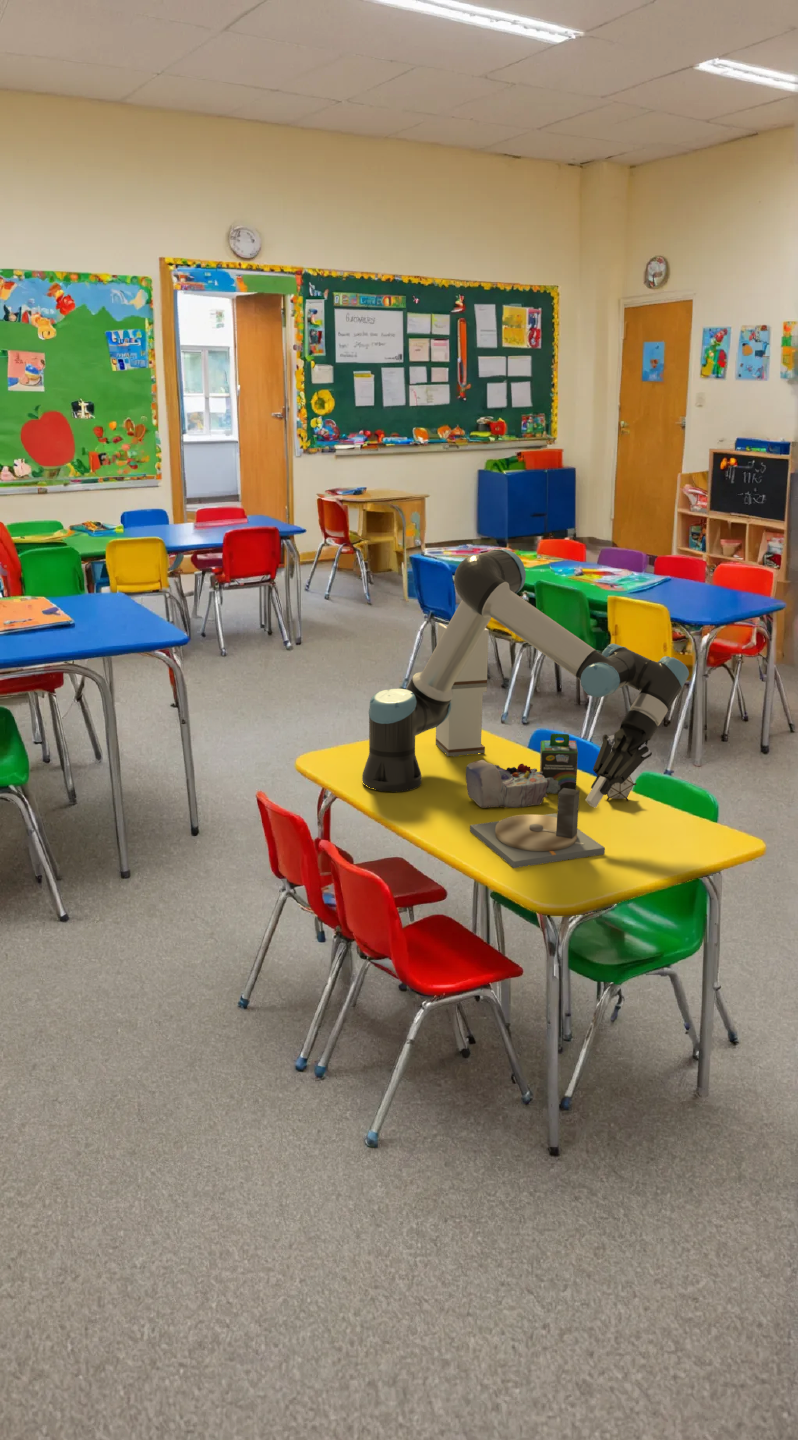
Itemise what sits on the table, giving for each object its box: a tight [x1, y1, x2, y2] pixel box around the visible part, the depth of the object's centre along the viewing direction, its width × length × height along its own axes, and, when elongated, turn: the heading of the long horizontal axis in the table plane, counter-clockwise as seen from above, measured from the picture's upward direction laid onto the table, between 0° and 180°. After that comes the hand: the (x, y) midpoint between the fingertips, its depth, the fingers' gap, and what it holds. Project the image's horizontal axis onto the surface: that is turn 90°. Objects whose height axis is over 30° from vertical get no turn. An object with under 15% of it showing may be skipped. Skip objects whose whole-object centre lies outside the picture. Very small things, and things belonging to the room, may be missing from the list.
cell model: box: [465, 759, 550, 809], centre depth 272 cm, size 13×11×20 cm
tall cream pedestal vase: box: [435, 622, 490, 757], centre depth 309 cm, size 11×11×35 cm
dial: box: [495, 788, 580, 851], centre depth 247 cm, size 18×18×12 cm
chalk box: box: [539, 733, 579, 795], centre depth 281 cm, size 9×9×15 cm
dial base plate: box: [469, 812, 606, 869], centre depth 249 cm, size 22×22×2 cm
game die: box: [606, 775, 637, 802], centre depth 275 cm, size 9×8×10 cm
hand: (590, 803), depth 247 cm, fingers closed
